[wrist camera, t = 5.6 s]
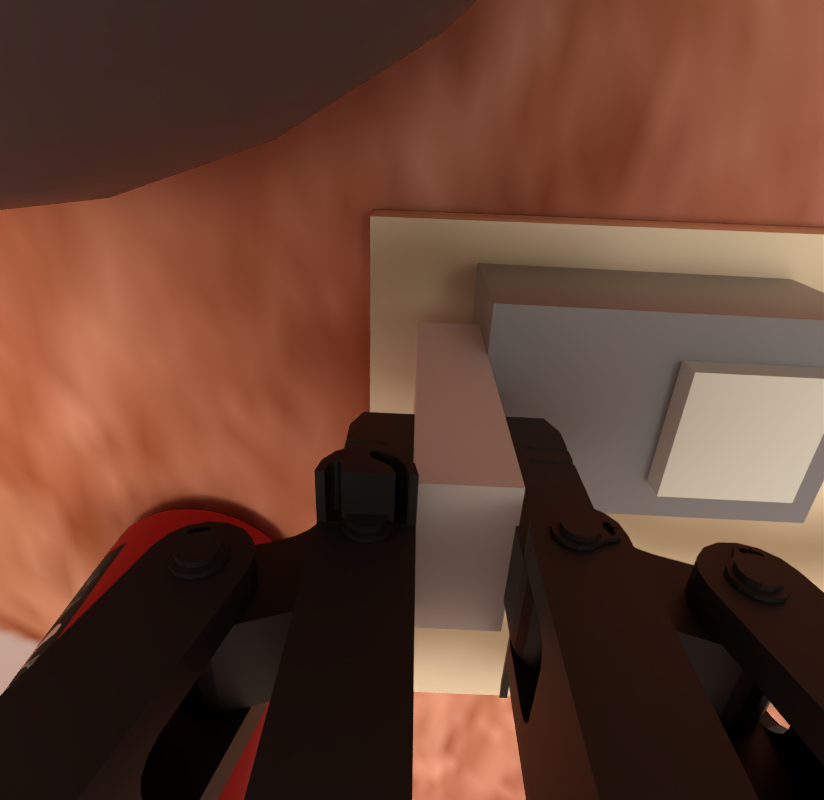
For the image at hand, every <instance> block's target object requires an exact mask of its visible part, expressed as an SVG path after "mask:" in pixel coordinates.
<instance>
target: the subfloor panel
mask: <svg viewBox="0 0 824 800" xmlns="http://www.w3.org/2000/svg"><path fill="white" fill-rule="evenodd" d="M478 263H488V264H507V265H527V266H546V267H566V268H585V269H604V270H624V271H643V272H663V273H682V274H702V275H721V276H741V277H760V278H780V279H792V280H795V281H797V282H799V283H802V284H804V285H806V286H809V287H811V288H814V289H816V290H818V291H821V292H823V293H824V228H822V227H797V226H772V225H748V224H723V223H698V222H673V221H648V220H624V219H599V218H574V217H549V216H524V215H500V214H475V213H450V212H425V211H400V210H376V209H374V210H373V212H372V214H371V216H370V412H378V413H400V414H413V411H414V391H415V371H416V351H417V331H418V322H432V323H453V324H472V319H473V309H474V299H475V289H476V279H477V270H478ZM605 514H606V515H608V516H609V517H611V518H612V519H614V520H615V521H616V522H618V523H619V524H620V525H621V527H622V528H623V529H624V531H625V532H626V533H627V534H628V536H629V538H630V540H631V542H632V544H633V546H634V547H635V548H637V549H640V550H643V551H646V552H648V553H651V554H654V555H658V556H662V557H666V558H669V559H673V560H677V561H681V562H684V563H688V564H692V565H694V563H695V561H696V558H697V556H698V555H699V553H700V552H701V550H702V549H703V547H706V546H709V545H711V544H714V543H717V542H726V543H740V544H744V545H748V546H752V547H756V548H759V549H761V550H763V551H766V552H768V553H770V554H772V555H774V556H777V557H779V558H781V559H782V560H784V561H785V562H787V563H788V564H789V565H791V566H792V567H794V568H795V569H797V570H798V571H799V572H801V573H802V574H803V575H804V576H805V577H807V578H808V579H809V580H810V581H811V582H812V583H813V584H815V585H816V586H817V587H818V588H819V589H820V590H822V591H823V592H824V481H823V483H822V485H821V487H820V489H819V491H818V494H817V496H816V498H815V500H814V502H813V504H812V506H811V508H810V510H809V513H808V515H807V517H806V519H805V521H804V523H790V522H770V521H750V520H730V519H710V518H690V517H670V516H650V515H630V514H610V513H605ZM508 639H509V629H508V623H507V617H506V611H505V612H504V618H503V623H502V629H501V632H500V631H478V630H456V629H434V628H414V692H433V693H457V694H481V695H500V685H501V678H502V673H503V667H504V662H505V656H506V650H507V645H508ZM507 696H510V689H508V695H507ZM768 707H774V706H773V705H772V703H771V702H770V704H769V706H768Z"/></svg>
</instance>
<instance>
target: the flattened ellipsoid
mask: <svg viewBox="0 0 824 800" xmlns="http://www.w3.org/2000/svg"><path fill="white" fill-rule="evenodd" d="M475 1H476V0H0V210H3V209H12V208H21V207H30V206H39V205H48V204H57V203H66V202H75V201H84V200H93V199H102V198H110V197H112V196H115V195H118V194H121V193H124V192H127V191H129V190H132V189H135V188H138V187H141V186H144V185H146V184H149V183H152V182H155V181H158V180H161V179H163V178H166V177H169V176H172V175H175V174H178V173H180V172H183V171H186V170H189V169H192V168H195V167H197V166H200V165H203V164H206V163H209V162H212V161H214V160H217V159H220V158H223V157H226V156H229V155H231V154H234V153H237V152H240V151H243V150H246V149H248V148H251V147H254V146H257V145H260V144H263V143H265V142H268V141H271V140H274V139H276V138H277V137H279V136H280V135H282V134H283V133H285V132H287V131H288V130H290V129H291V128H293V127H294V126H296V125H298V124H299V123H301V122H302V121H304V120H305V119H307V118H309V117H310V116H312V115H313V114H315V113H316V112H318V111H320V110H321V109H323V108H324V107H326V106H327V105H329V104H331V103H332V102H334V101H335V100H337V99H338V98H340V97H342V96H343V95H345V94H346V93H348V92H349V91H351V90H353V89H354V88H356V87H357V86H359V85H360V84H362V83H364V82H365V81H367V80H368V79H370V78H371V77H373V76H375V75H376V74H378V73H379V72H381V71H382V70H384V69H386V68H387V67H389V66H390V65H392V64H393V63H395V62H397V61H398V60H400V59H401V58H403V57H404V56H406V55H408V54H409V53H411V52H412V51H414V50H415V49H417V48H419V47H420V46H422V45H423V44H425V43H426V42H428V41H430V40H431V39H433V38H434V37H436V36H437V35H439V34H441V33H442V32H444V31H445V30H446V29H447V28H448V27H449V26H450V25H451V24H452V23H453V22H454V21H455V20H456V19H457V18H458V17H459V16H460V15H461V14H462V13H463V12H464V11H465V10H466V9H467V8H468V7H470V6H471V5H472V4H473V3H474V2H475Z"/></svg>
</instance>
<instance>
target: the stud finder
mask: <svg viewBox="0 0 824 800" xmlns="http://www.w3.org/2000/svg"><path fill="white" fill-rule="evenodd" d="M472 324H474V325H480V329H481V333H482V336H483V340H484V344H485V347H486V351H487V354H488V357H489V361H490V364H491V368H492V372H493V375H494V379H495V382H496V386H497V389H498V393H499V396H500V400H501V404H502V407H503V411H504V414H505V417H526V418H544V419H545V420H546V421H547V422H549V423H550V424H551V425H552V426H553V427H554V428H556V429H557V430H558V431H559V432H560V433H561V435H562V438H563V440H564V442H565V444H566V446H567V451H569V453H570V455H571V458H572V460H573V465H575V467H576V469H577V471H578V473H579V476H580V478H581V480H582V482H583V485H584V487H585V489H586V491H587V494H588V496H589V498H590V500H591V503H592V505H593V507H594V509H596V510H598V511H601V512H603V513H610V514H630V515H650V516H670V517H690V518H710V519H730V520H750V521H770V522H790V523H804V521H805V519H806V517H807V515H808V513H809V510H810V508H811V506H812V504H813V502H814V500H815V498H816V496H817V494H818V491H819V489H820V487H821V485H822V483H823V481H824V293H823V292H821V291H818V290H816V289H814V288H811V287H809V286H806V285H804V284H802V283H799V282H797V281H795V280H792V279H780V278H760V277H741V276H721V275H702V274H682V273H663V272H643V271H624V270H604V269H585V268H566V267H546V266H527V265H507V264H488V263H478V270H477V279H476V289H475V299H474V309H473V319H472Z"/></svg>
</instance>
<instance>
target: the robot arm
mask: <svg viewBox="0 0 824 800" xmlns="http://www.w3.org/2000/svg"><path fill="white" fill-rule="evenodd" d="M315 489H316V511H317V524H316V525H315V526H314V527H312V528H311V529H309V530H308V531H305V532H303V533H301V534H299V535H297V536H294V537H290V538H286V539H283V540H278V541H273V542H267V543H262V544H257V545H254V540H253V538H252V537H251V536H250V535H249V534H248V533H247V532H246V531H245V529H243V528H241V527H238V526H236V525H233V524H231V523H226V522H213V521H208V522H203V523H197V524H191V525H187V526H185V527H182V528H180V529H178V530H175V531H173V532H170V533H168V534H167V535H166V536H164V537H163V538H161V539H160V540H159V541H157V542H156V543H155V544H153V545H152V546H151V547H150V548H149V549H148V550H147V551H146V552H145V553H144V554H143V555H142V556H141V557H140V558H139V559H138V560H137V561H136V562H135V563H134V564H133V565H132V566H131V567H130V568H129V569H128V570H127V571H126V572H125V573H124V574H123V575H122V576H121V577H120V578H119V579H118V580H117V581H116V582H115V583H114V584H113V585H112V586H111V587H110V588H109V589H108V590H107V591H106V592H105V593H104V594H103V595H102V596H101V597H100V598H99V599H97V600H96V601H95V602H94V603H93V604H92V605H91V606H90V607H89V608H88V609H87V610H86V611H85V612H84V613H83V614H82V615H81V616H80V617H79V618H78V619H77V620H76V621H75V622H74V623H73V624H72V625H71V626H70V627H69V628H68V629H67V630H66V631H65V632H64V633H63V634H62V635H61V636H60V637H59V638H58V639H57V640H56V641H55V642H54V643H53V644H52V645H51V646H50V647H49V648H48V649H47V650H46V651H45V652H44V653H43V654H42V655H41V656H40V657H39V658H38V659H37V660H36V661H35V662H34V663H33V664H32V665H31V666H30V667H29V668H28V669H27V670H26V671H25V672H24V673H23V674H22V675H21V676H20V677H19V678H18V679H17V680H16V681H15V682H14V683H13V684H12V685H11V686H10V687H9V688H8V689H7V690H6V691H5V692H4V693H3V694H2V695H1V696H0V800H218V798H219V797H220V795H221V793H222V791H223V789H224V787H225V785H226V783H227V781H228V779H229V778H230V776H231V774H232V772H233V770H234V768H235V766H236V764H237V762H238V760H239V759H240V757H241V755H242V753H243V751H244V749H245V747H246V745H247V743H248V742H249V740H250V738H251V736H252V734H253V732H254V730H255V728H256V726H257V724H258V723H259V721H260V719H261V717H262V715H263V713H264V711H265V709H266V707H267V703H268V702H269V701H270V702H269V706H268V710H267V714H266V718H265V721H264V725H263V729H262V733H261V737H260V740H259V744H258V748H257V752H256V756H255V759H254V763H253V767H252V771H251V775H250V778H249V782H248V786H247V790H246V794H245V797H244V800H412V763H413V695H414V628H434V629H456V630H478V631H500V632H501V629H502V623H503V618H504V612H505V611H506V617H507V623H508V629H509V639H508V645H507V650H506V656H505V662H504V667H503V673H502V678H501V685H500V698H507V695H508V689H510V696H511V702H512V709H513V716H514V722H515V729H516V736H517V742H518V749H519V755H520V762H521V769H522V775H523V782H524V788H525V795H526V800H824V592H823V591H822V590H820V589H819V588H818V587H817V586H816V585H815V584H813V583H812V582H811V581H810V580H809V579H808V578H807V577H805V576H804V575H803V574H802V573H801V572H799V571H798V570H797V569H795V568H794V567H792V566H791V565H789V564H788V563H787V562H785V561H784V560H782V559H781V558H779V557H777V556H774V555H772V554H770V553H768V552H766V551H763V550H761V549H759V548H756V547H752V546H748V545H744V544H740V543H726V542H717V543H714V544H711V545H709V546H706V547H703V549H702V550H701V552H700V553H699V555H698V556H697V558H696V561H695V563H694V565H692V564H688V563H684V562H681V561H677V560H673V559H669V558H666V557H662V556H658V555H654V554H651V553H648V552H646V551H643V550H640V549H637V548H635V547H634V546H633V544H632V542H631V540H630V538H629V536H628V534H627V533H626V532H625V531H624V529H623V528H622V527H621V525H620V524H619V523H618V522H616V521H615V520H614V519H612V518H611V517H609V516H608V515H606V514H605V513H603V512H601V511H598V510H596V509H594V507H593V505H592V503H591V500H590V498H589V496H588V494H587V491H586V489H585V487H584V485H583V482H582V480H581V478H580V476H579V473H578V471H577V469H576V467H575V465H573V460H572V458H571V455H570V453H569V451H567V446H566V444H565V442H564V440H563V438H562V435H561V433H560V432H559V431H558V430H557V429H556V428H554V427H553V426H552V425H551V424H550V423H549V422H547V421H546V420H545V419H544V418H526V417H505V414H504V411H503V407H502V404H501V400H500V396H499V393H498V389H497V386H496V382H495V379H494V375H493V372H492V368H491V364H490V361H489V357H488V354H487V351H486V347H485V344H484V340H483V336H482V333H481V329H480V325H474V324H453V323H432V322H418V331H417V351H416V371H415V391H414V411H413V414H400V413H378V412H363V413H362V414H361V415H360V416H359V417H358V418H357V419H356V420H354V421H353V422H352V423H351V424H350V427H349V431H348V435H347V439H346V443H345V447H344V449H342V450H338V451H335V452H333V453H332V454H330V455H329V456H327V457H325V458H324V459H322V460H321V462H320V463H319V465H318V466H317V468H316V469H315ZM770 702H771V703H772V705H773V706H774V707H775V708H776V709H777V711H778V712H779V713H780V714H781V715H782V716H783V718H784V719H785V720H786V721H787V722H788V724H789V725H790V727H789V729H786V728H785V727H783V726H781V725H779V724H778V723H777V722H776V721H775V720H774V719H773V718H772V717H771V716H770V714H769V713H768V712H767V711H766V709H767V707H768V706H769V704H770Z"/></svg>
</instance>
